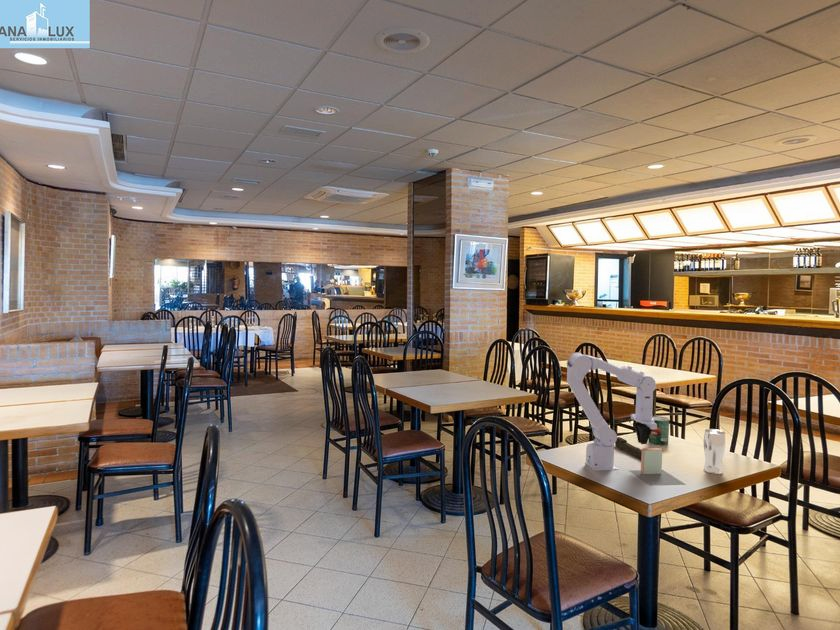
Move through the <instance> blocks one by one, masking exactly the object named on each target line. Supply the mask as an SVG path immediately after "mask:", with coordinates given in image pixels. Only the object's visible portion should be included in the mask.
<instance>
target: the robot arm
mask: <svg viewBox="0 0 840 630" xmlns="http://www.w3.org/2000/svg"><path fill="white" fill-rule="evenodd" d="M566 367H567V368H566V374H567V375H566V382H567V384H568V386H569V389H571V391H572V393H573V394H574V397H575V398H576V400H577V402H578V404H579V405H580V407H581V409H582V410H583V412H584V414H585V416H586V417H587V419H588V420H589V423H590V426H591V429H592V434H593V436H594V439H593V442H591V443H587V445H586V451H585V452H586V453H585V462H584V464H585V465H587V467H589V468H590V469H592V470H593V471H619V468H618V467H616V466H615V464H614V463H615V462H614V461H615V459H614V458H615V456H614V455H615V442H616V440H617V437H618V436H617V435H618V434H617V433H616V431H615V430H614V429H612V428H611V427H610V425H609V424H608V423H607V422H606V420H605V419H604V418H603V416H602V414H601V412H600V411H599V409H598V407H597V405H596V403H595V402H594V399H592V398H593V397H592V396H591V394H590V393H589V392H588V390H587V388H586V387H585V384H584V383H583V381H584V379H585V377H586V375H587V374H588V372H589V371H590V370H591V371H594V370H597V369H598V370H601V371H604V372H606V373H609V374H611V375H614V376H616V377H617V378H616V379H617V380H618V381H619V382H622V383H624V384H626V385H629V386H632V387H634V388H636V395H635V396H636V397H635V413H631V414H630V420H634V421H635V422H633V423H632V426H633V428H634V429H635V430H634V431H635V433H636V438H637V442H638V444H640V445H647V444H648V443H649V442H648V441H649V436H650V434H651V432H652V431H653V429H657V424H656V423H655V422H654V421H655V419H653V418H652V416H653V405H654V403H653V401H654V391H655V390H656V388H657V386H658V385H657V384H656V380H655V379H654V377H653V376H650V375H647V374H646V373H645V372H643V371H637V370H635V369H633V367H632V366H630V365H627V366H620V367H618V366H616V365H614V364H611V363H609V362H608V361H605V360H603V359H601V358H599V357H595V356H592V355H589V354H582V353H581V352H573V353H571V354H570V356H569V357H568V359H567V361H566Z"/></svg>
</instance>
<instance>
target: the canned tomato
mask: <svg viewBox="0 0 840 630" xmlns="http://www.w3.org/2000/svg"><path fill="white" fill-rule="evenodd" d="M652 418H653V419H655V421H654V422H655V423H656V424H657V429H653V431H652V432H651V434H650V436H649V439H648V442H647V443H649V444H650V445H653V446H657V445H660V447H666V445H667V446H668V445H669V434H670V418H668V417H664V416H659V415H652Z"/></svg>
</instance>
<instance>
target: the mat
mask: <svg viewBox="0 0 840 630" xmlns="http://www.w3.org/2000/svg"><path fill="white" fill-rule="evenodd" d="M629 472H630V473H632V474H634V475H635V477H637V478H639V479H640V480H642V481H643V482H644V483H646V484H647V485H648V486H680V485H684V486H685V485H686V486H687V484H686V483H684V482H683V481H681V480H680V479H678V478H677V477H675V476H673V475H672V474H670V473H669V472H667V471H665V470H664V469H662V470H661V474H641V469H640V470H639V469H638V470H636V469H635V470H634V469H633V470H629Z"/></svg>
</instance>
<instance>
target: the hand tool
mask: <svg viewBox="0 0 840 630" xmlns="http://www.w3.org/2000/svg"><path fill="white" fill-rule="evenodd" d="M614 447H616V448H617V449H619V450H620V451H625V452H627V453H629V454H630V455H632V456H634V457H635V458H638V460H640V461H641V454H642V448H640V447H636V446H635V445H632V444H631V443H629V442H628V441H627V439H625V438H622V437H620V436H617V440H616V442H615V443H614Z"/></svg>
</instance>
